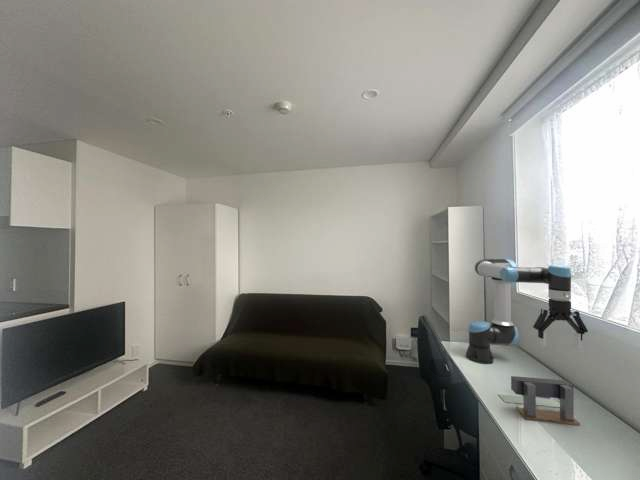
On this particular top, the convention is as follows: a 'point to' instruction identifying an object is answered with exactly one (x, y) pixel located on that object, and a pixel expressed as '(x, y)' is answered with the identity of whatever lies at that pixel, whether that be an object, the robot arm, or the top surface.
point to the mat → (539, 401)
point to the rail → (539, 386)
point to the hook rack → (546, 415)
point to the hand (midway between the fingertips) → (560, 346)
